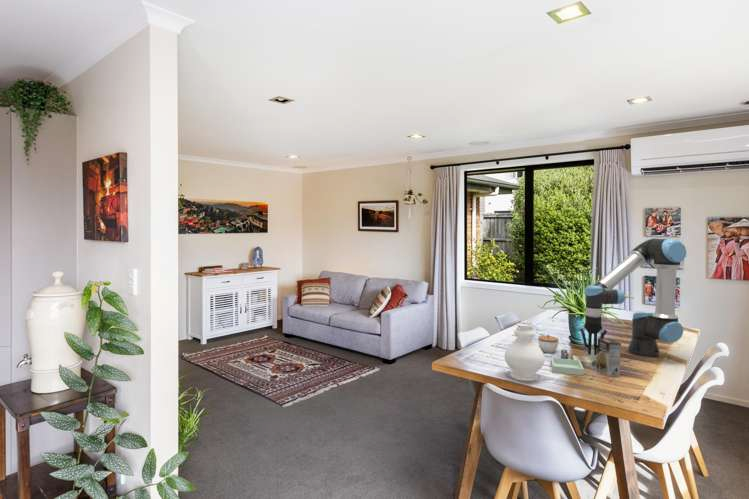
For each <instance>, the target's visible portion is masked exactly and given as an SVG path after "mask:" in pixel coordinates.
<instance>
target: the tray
mask: <svg viewBox="0 0 749 499" xmlns="http://www.w3.org/2000/svg"><path fill="white" fill-rule="evenodd" d="M550 365H551V370H552V373H555V374H565V375H573V376H575V375H576V376H584V375H585V368H584V366H582V364H581V362H580V360H572V359H569V358H568V359H561V357H560V358H558V357H550Z"/></svg>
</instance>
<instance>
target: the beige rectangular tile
mask: <svg viewBox="0 0 749 499" xmlns="http://www.w3.org/2000/svg"><path fill="white" fill-rule="evenodd" d="M571 358H572V359H571V360H580V362H581V364H582V366H583V367H590V366H591V367H593V362H592V361H591V360H590V356H583V355H572V356H571ZM591 367H590V368H591Z"/></svg>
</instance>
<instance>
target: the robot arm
mask: <svg viewBox="0 0 749 499" xmlns="http://www.w3.org/2000/svg"><path fill="white" fill-rule="evenodd" d="M686 257H687V249H686V245H684V243H682V241H680V240H678V239H673V238H651V239H647V240H645V241H643V242H641V243H640V244H638V245H637V246H635V247H634V248H633V249H632V250H630V252H629V255H628V256H627V257H625V259H623V260H622V261H620V263H618V264H617V265H616V266H615V267H614V268H612V269H611V270H610V271H609V272H608V273H607V274H606V275H604V276H603V277H602V278H601V279H599V280H598V281H597V282H596V283H595V284H594V285H593V284H592V285H591V284H590V285H587V286H586V287H585V288H584V295H585V313H584V314H585V317H584V319H585V320H584V325H583V326H582V327H579V328H578V329H579V331H580V333H581V336H582V341H583V345H584V347H585V348H587V355H589V358H590V360H591V361H592V363H593V362H595V356H597V351H598V334H599V333H600V332H601V333H600V337H599V338H604V337H605V335H606V334H607V332H608V330H607V329H605V328H603V325H602V321H603V320H602V315H603V305H618V304H620V305H621V304H623V303H624V302H625V300H626V295H625V292H624V290H621V289H617V288H616V289H614V288H615V287H617V285H619V284H620V283H621V282H622V281H624V280H625V279H626V278H627V277H628V276H629V275H630V274H632V273H633V272H635V270H636V269H637V268H640V266H641V265H646V264H647V263H648V262H650V261H653V265H654V266H655V267H656V283H655V284H656V286H655V287H656V288H655V308H654V309H655V312H635V313H633V314H632V320H631V321H632V324H631V327H632V330H631V331H632V332H631V333H632V334H631V339H630V342H629V344H628V347H627V352H628V353H629V354H632V355H635V356H638V355H639V357H644V356H646V357H645V358H656V357H657V356H658V357H659V356H660V352H661V351H660V348H659V346H658V342H657V340H658V341H660V342H662V343H667V344H673V343H677V342H678V341H679V340H680V339H681V338H682V337H683V333H684V327H683V325H682V324H681V323H680V322H679V316H678V315H677V314H676V290H677V289H676V288H677V269H678V268H679V267H680V266H681V262H682V261H683V260H685V259H686ZM585 331H586V332H587V333H588V335H587V336H588V338H586V333H585ZM587 339H588V340H587ZM592 341H593V345H592ZM592 346H593V347H592ZM647 356H648V357H647Z"/></svg>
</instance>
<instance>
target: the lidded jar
mask: <svg viewBox="0 0 749 499" xmlns="http://www.w3.org/2000/svg"><path fill="white" fill-rule="evenodd" d="M537 340H538V343H537V344H538V346H539V347H540V349H541V350H542V352H543V353H547V354H553V353H554V352H555V351H556V350H557V349H558V347H559V346H558V345H559V338H558V337H556V336H553V335H550V334H547V335H540V336H538V339H537Z"/></svg>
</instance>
